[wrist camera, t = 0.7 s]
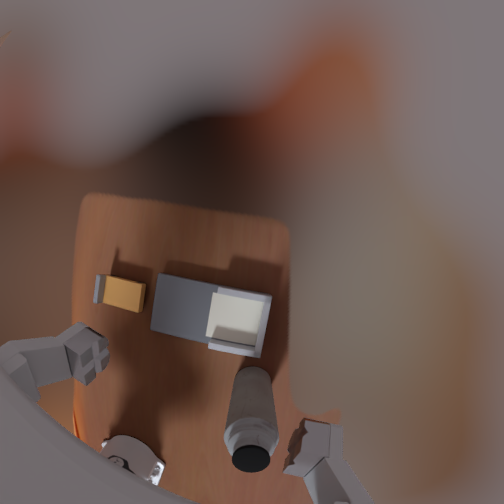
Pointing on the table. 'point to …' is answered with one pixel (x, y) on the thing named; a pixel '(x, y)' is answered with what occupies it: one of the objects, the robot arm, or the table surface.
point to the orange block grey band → (119, 292)
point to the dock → (211, 314)
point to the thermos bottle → (251, 421)
